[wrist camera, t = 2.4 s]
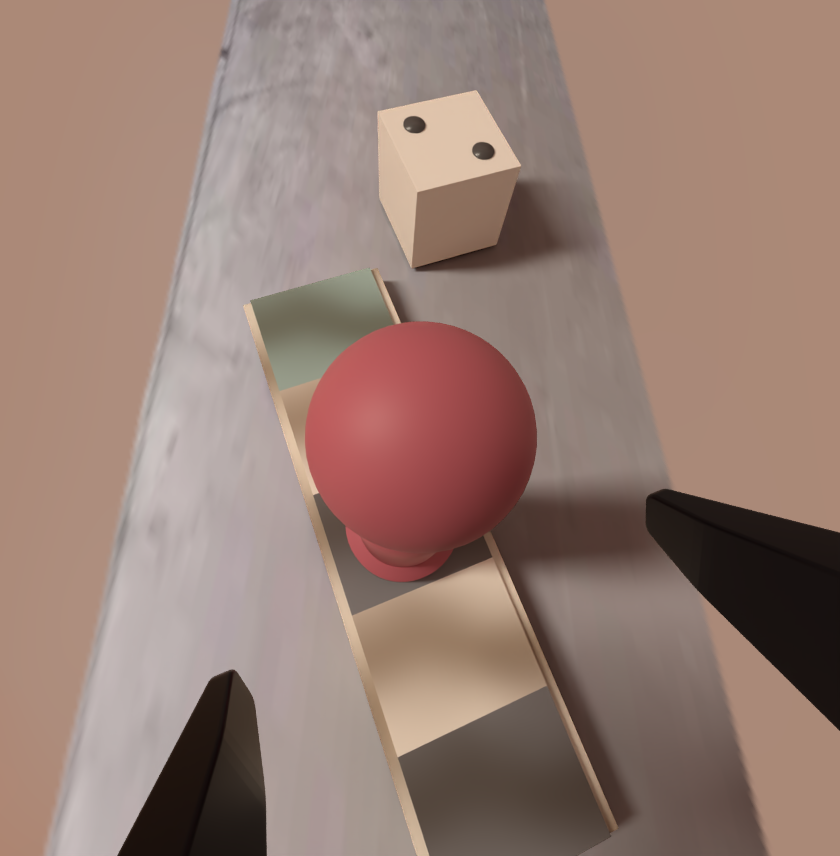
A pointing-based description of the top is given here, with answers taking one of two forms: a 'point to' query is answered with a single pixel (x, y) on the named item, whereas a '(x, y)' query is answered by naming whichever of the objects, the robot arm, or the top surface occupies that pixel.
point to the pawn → (419, 444)
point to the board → (436, 637)
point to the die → (444, 176)
